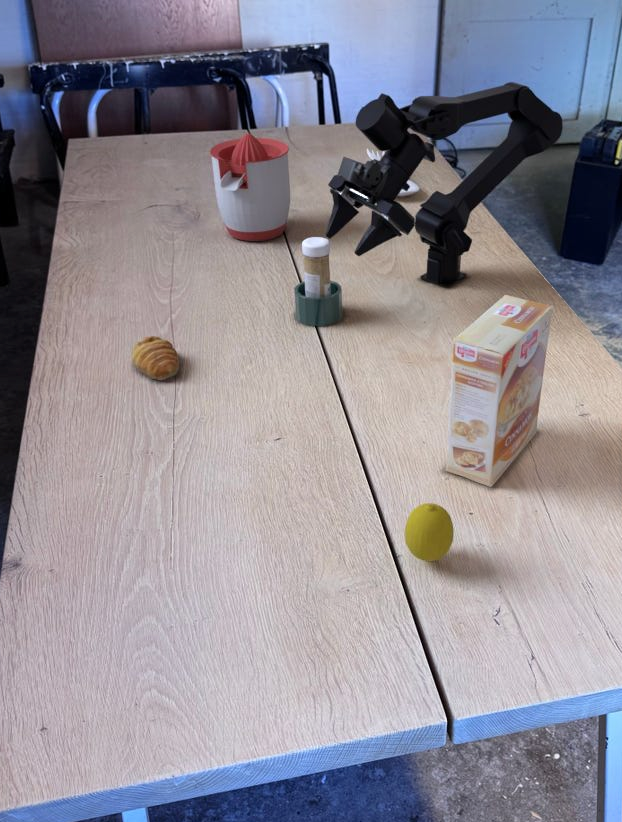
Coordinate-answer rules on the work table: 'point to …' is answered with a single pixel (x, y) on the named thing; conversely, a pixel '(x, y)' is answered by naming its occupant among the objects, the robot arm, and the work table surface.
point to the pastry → (155, 358)
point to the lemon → (429, 532)
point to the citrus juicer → (252, 186)
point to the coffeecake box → (496, 388)
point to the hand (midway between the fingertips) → (341, 245)
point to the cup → (318, 306)
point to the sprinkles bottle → (316, 267)
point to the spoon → (413, 186)
